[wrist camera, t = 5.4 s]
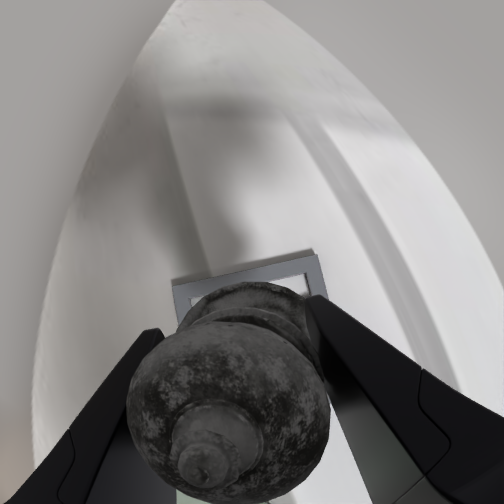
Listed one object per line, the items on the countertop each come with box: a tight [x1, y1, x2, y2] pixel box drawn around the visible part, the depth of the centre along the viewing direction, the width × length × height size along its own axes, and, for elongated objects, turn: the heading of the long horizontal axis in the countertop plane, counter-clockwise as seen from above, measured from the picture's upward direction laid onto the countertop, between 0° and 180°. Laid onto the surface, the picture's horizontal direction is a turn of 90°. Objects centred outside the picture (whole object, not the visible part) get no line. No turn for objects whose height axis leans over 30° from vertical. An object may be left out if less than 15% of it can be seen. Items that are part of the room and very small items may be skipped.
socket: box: [172, 254, 331, 404], centre depth 19 cm, size 10×10×1 cm
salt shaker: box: [126, 281, 331, 504], centre depth 8 cm, size 6×6×12 cm
